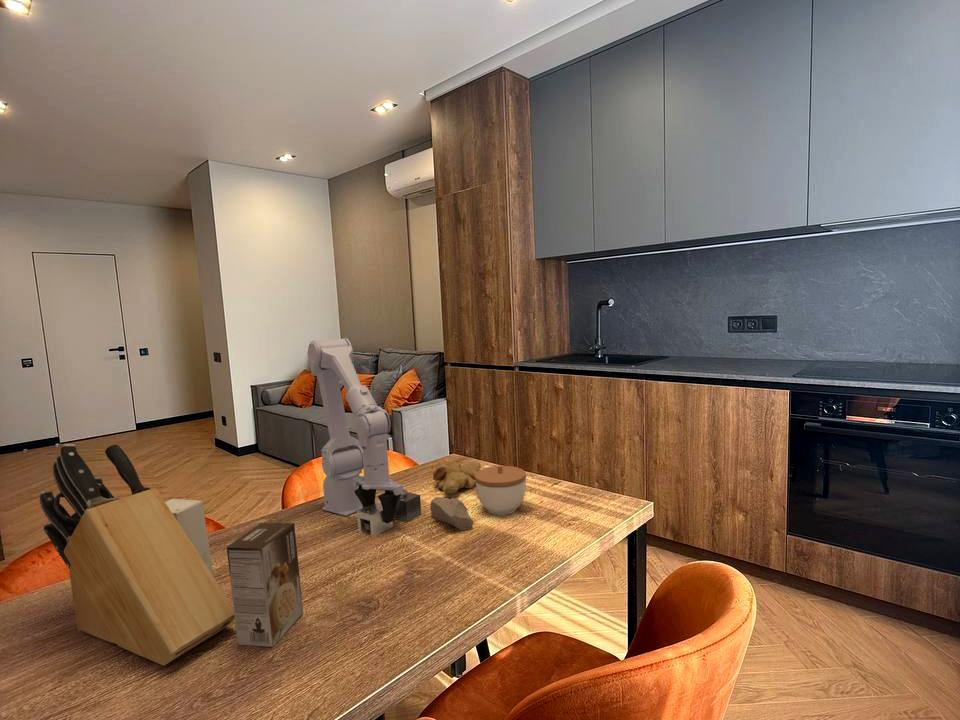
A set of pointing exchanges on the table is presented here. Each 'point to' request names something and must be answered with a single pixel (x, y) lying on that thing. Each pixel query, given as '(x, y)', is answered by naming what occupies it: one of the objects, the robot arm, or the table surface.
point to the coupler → (405, 507)
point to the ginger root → (455, 476)
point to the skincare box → (193, 525)
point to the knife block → (131, 563)
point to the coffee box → (265, 583)
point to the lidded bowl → (501, 488)
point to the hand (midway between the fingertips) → (379, 519)
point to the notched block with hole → (372, 519)
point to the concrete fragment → (451, 512)
